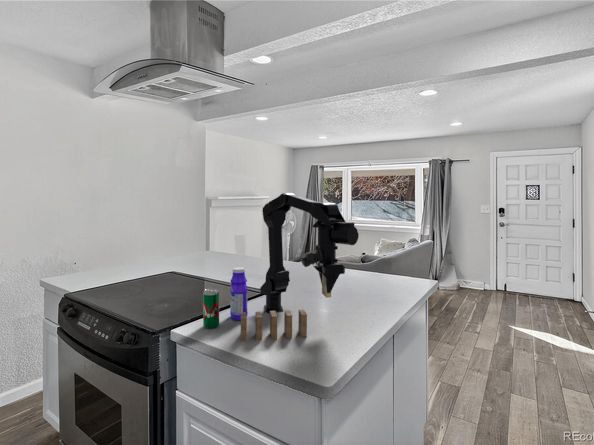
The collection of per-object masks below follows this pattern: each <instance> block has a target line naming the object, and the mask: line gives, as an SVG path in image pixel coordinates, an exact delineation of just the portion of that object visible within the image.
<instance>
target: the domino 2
mask: <svg viewBox="0 0 594 445" xmlns="http://www.w3.org/2000/svg"><path fill="white" fill-rule="evenodd" d="M254 317H255V320H254V321H255V322H254V323H255V332H254V333H255V338H256V341H262V340H263V315H262V311H260V310H259V311H255V316H254Z"/></svg>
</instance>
